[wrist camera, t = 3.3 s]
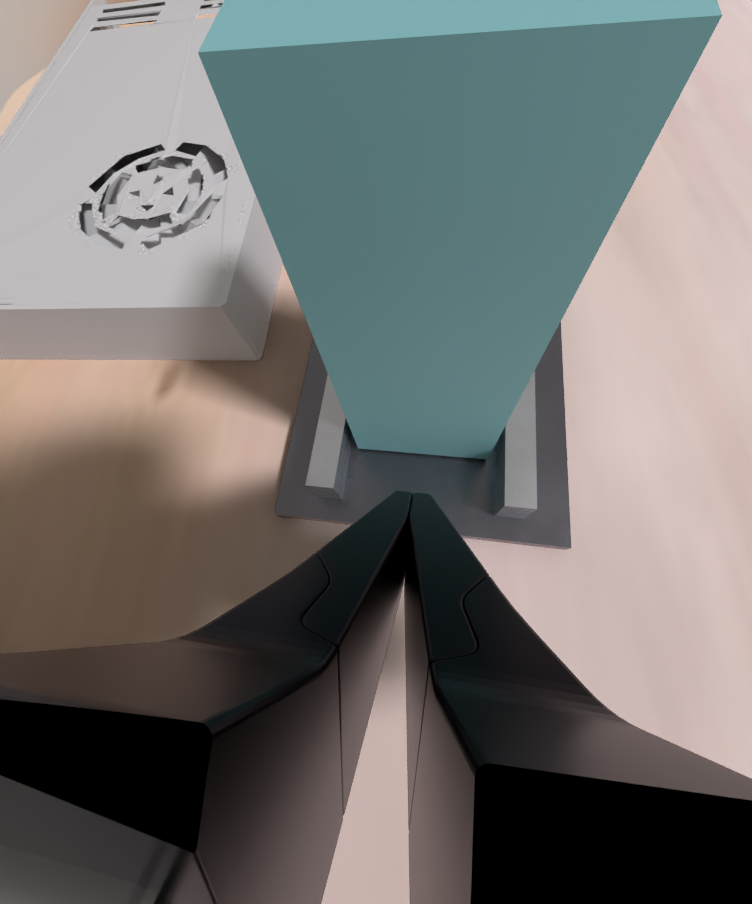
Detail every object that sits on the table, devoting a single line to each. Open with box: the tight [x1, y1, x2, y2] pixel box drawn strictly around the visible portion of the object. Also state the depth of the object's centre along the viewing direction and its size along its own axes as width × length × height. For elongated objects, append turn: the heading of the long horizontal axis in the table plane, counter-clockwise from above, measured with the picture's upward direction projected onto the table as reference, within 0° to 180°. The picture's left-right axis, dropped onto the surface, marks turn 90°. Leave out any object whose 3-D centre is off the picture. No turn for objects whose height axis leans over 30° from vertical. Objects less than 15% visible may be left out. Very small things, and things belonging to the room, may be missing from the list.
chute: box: [274, 321, 571, 550], centre depth 18 cm, size 18×13×4 cm
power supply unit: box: [0, 0, 283, 360], centre depth 26 cm, size 19×33×5 cm, turn 175°
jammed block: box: [198, 0, 722, 460], centre depth 12 cm, size 5×6×14 cm
